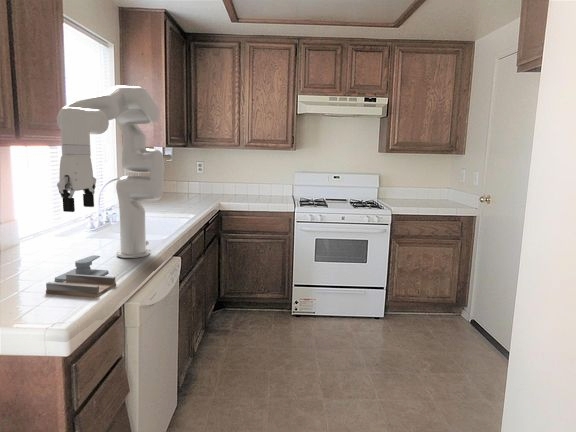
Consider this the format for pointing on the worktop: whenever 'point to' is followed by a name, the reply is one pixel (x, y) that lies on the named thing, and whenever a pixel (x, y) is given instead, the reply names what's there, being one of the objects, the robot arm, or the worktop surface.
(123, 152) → the robot arm
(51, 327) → the worktop surface
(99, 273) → the shower valve
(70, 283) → the stand
